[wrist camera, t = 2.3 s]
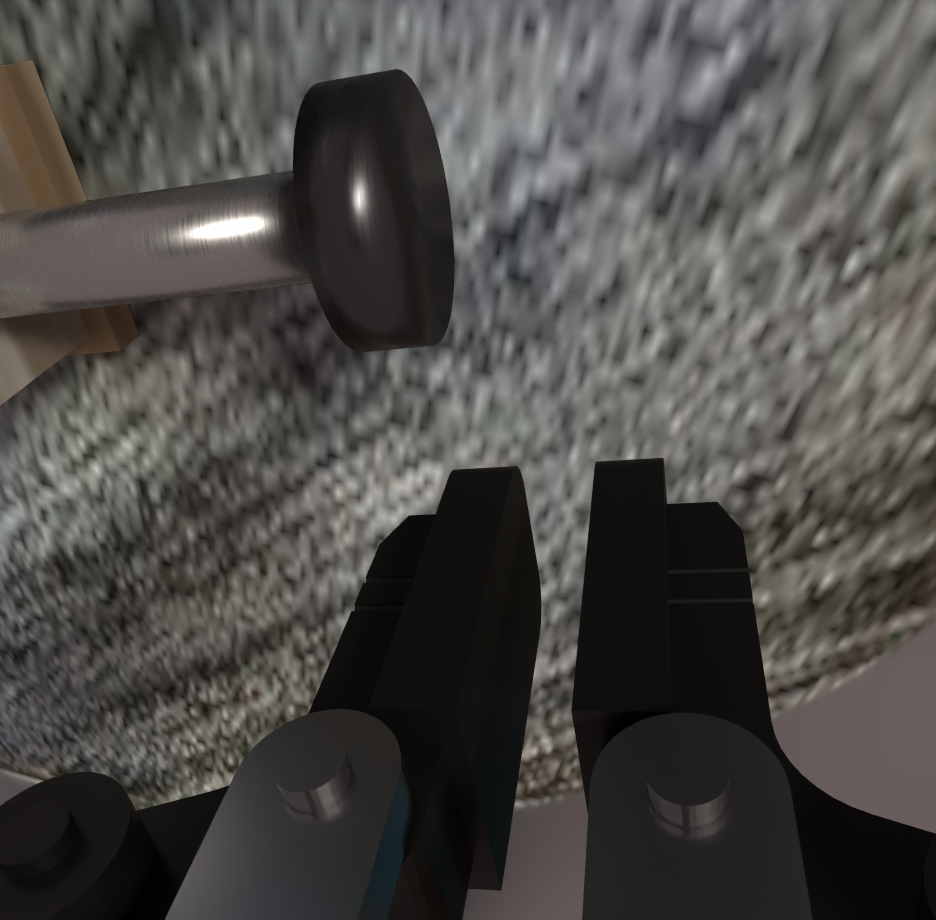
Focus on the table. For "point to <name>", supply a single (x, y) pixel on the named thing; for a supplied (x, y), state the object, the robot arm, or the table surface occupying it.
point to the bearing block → (33, 186)
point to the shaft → (270, 228)
